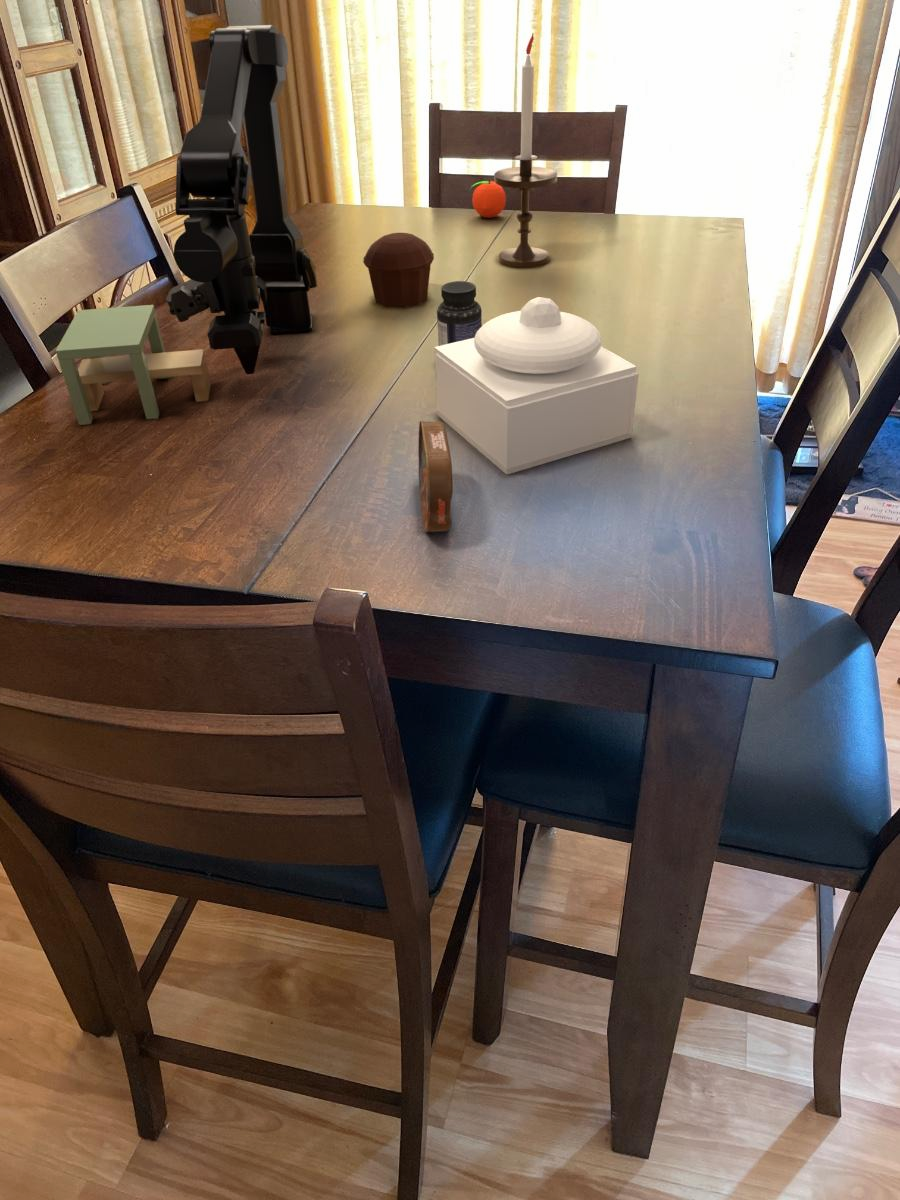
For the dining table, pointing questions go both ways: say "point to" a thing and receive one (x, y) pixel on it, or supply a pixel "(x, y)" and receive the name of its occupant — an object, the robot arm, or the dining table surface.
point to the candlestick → (525, 178)
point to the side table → (110, 350)
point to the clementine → (488, 199)
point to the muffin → (399, 269)
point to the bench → (158, 366)
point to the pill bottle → (458, 313)
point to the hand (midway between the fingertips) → (250, 373)
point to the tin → (435, 476)
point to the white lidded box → (535, 388)
